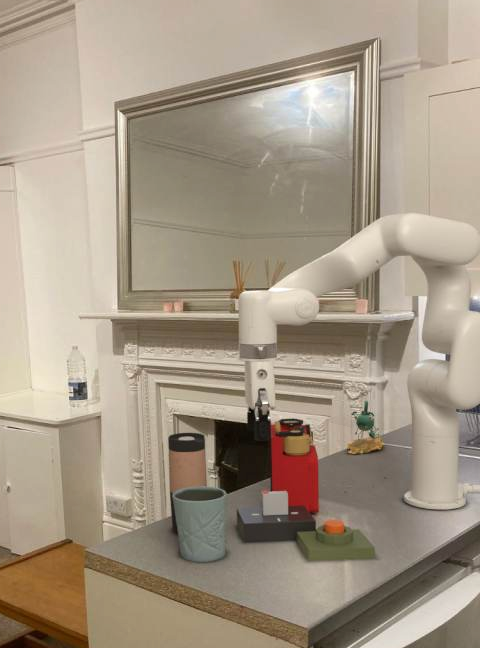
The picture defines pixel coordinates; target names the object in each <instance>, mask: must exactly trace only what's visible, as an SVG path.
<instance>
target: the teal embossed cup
mask: <svg viewBox="0 0 480 648" xmlns="http://www.w3.org/2000/svg"><path fill="white" fill-rule="evenodd" d="M227 496H228V493H227V492H226V490H224V489H223V488H219V487H217V486H216V487H215V486H207V487H206V486H197V487H189V488H183V489H180V490H177V491H175V492H174V493H173V495H172V497H173V503H174V510H175V516H176V521H177V522H176V523H177V524H176V525H177V528H178V529H177V531H178V534H177V536H178V544H179V553H180V556H181V557H182V558H183V559H185V560H187V561H190V562H197V563H199V562H200V563H204V562H206V563H208V562H214V561H217V560H221V559H222V558H223V557H225V555H226V527H227V526H226V522H227V520H226V518H227V508H226V507H227Z"/></svg>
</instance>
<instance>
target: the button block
mask: <svg viewBox="0 0 480 648" xmlns="http://www.w3.org/2000/svg"><path fill="white" fill-rule="evenodd" d="M296 544H297V545H298V547H299V548H300V550H301V551H302V554H304V556H305V558H306V559H307V561H308V562H317V561H319V562H320V561H343V560H345V561H346V560H365V559H368V560H369V559H370V560H371V559H376V548H375V546H374V544H373V543H372V542H371V541H370V539H368V538H367V537H366V536H365V535H364V533H362V531H361V530H360V528H359V529H358V528H356V529H355V528H354V529H352V528H351V527H349V526H346V525H344V533H341V534H331V533H327V532H324V524H323V525H319V526H318V527H316V531H307V532H297V541H296Z"/></svg>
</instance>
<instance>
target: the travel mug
mask: <svg viewBox="0 0 480 648" xmlns="http://www.w3.org/2000/svg"><path fill="white" fill-rule="evenodd" d="M167 439H168V441H167V442H168V475H169V476H168V477H169V479H168V480H169V497H170V511H171V512H170V513H171V527H172V532H173V533H174V534H176V535H178V531H177V529H178V528H177V525H176V524H177V523H176V522H177V521H176V516H175V510H174V503H173V497H172V495H173V493H174V492H175V491H177V490H180V489H183V488H189V487H197V486H206V487H208V482H207V459H206V457H207V455H206V438H205V435H204V434H202V433H197V432H178V433H173V434H170V435H168V437H167Z"/></svg>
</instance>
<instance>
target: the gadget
mask: <svg viewBox="0 0 480 648" xmlns="http://www.w3.org/2000/svg"><path fill="white" fill-rule="evenodd" d="M236 525H237V526H236V527H237V529H238V531H239V534H240V536H241V538H242V541H243V542H244V543H245V544H247V543H250V544H251V543H271V542H272V543H274V542H294V541H295V542H297V532H307V531H316V529H317V521H316V519H315V518H314V516H313V515H312V513H310V512H309V511H308V510H307V509H306V507H305V506H288V515H265V516H263V514H262V506H261V507H239V508H236Z"/></svg>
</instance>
